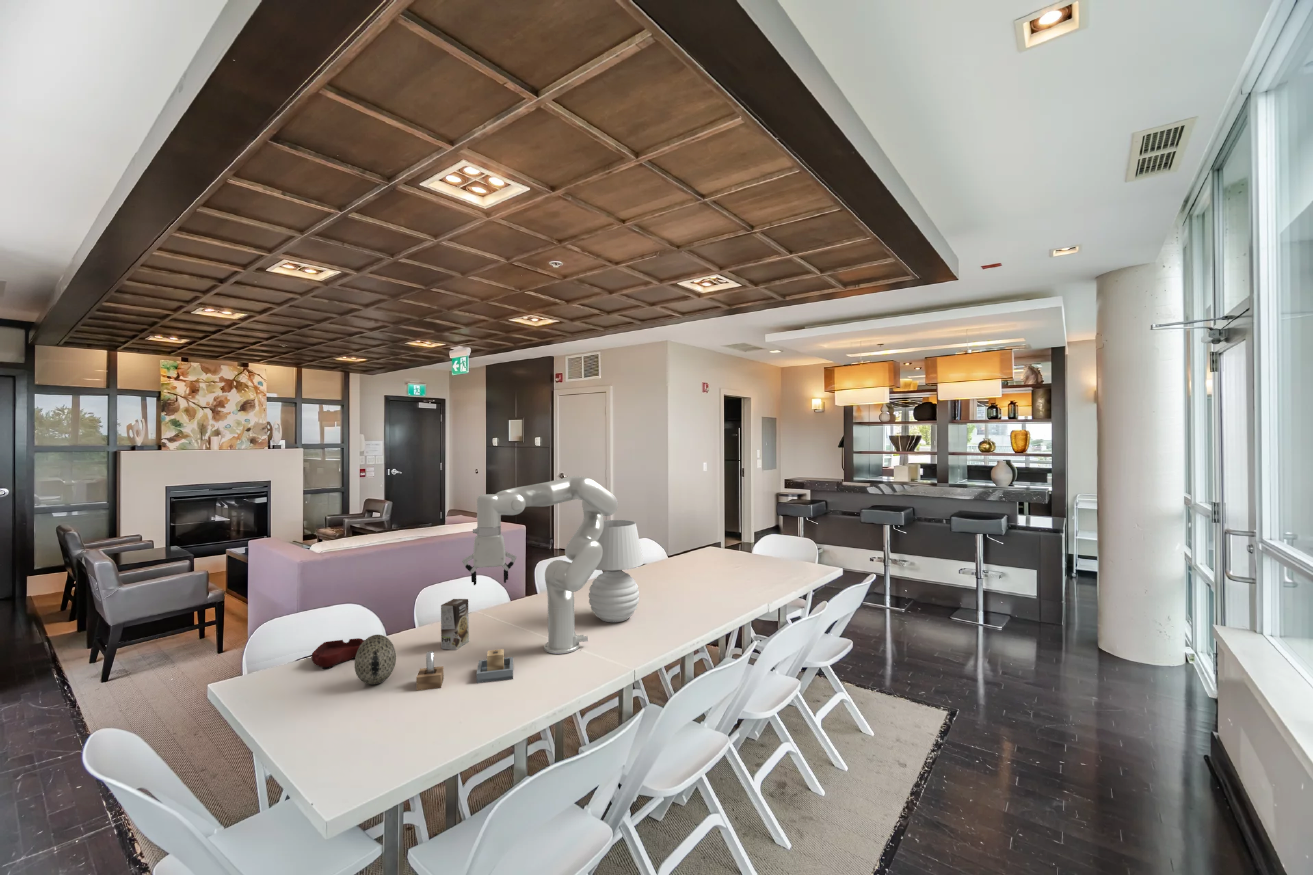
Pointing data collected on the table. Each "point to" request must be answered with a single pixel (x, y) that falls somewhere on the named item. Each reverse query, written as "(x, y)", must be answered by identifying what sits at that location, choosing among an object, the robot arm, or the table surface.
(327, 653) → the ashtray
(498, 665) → the oak block
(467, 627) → the coffee box
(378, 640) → the decorative egg
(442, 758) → the table surface
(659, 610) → the table surface
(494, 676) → the tray
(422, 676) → the tan wooden square frame
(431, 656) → the cylinder
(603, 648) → the table surface
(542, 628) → the table surface
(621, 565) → the table lamp
